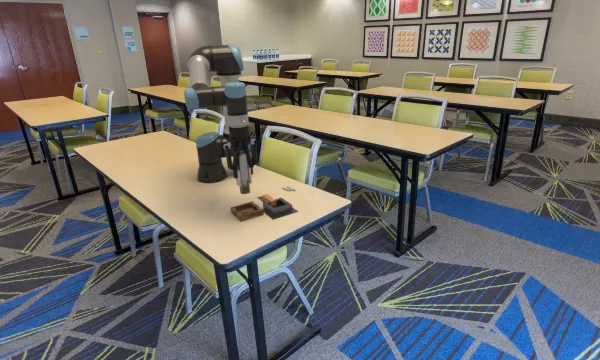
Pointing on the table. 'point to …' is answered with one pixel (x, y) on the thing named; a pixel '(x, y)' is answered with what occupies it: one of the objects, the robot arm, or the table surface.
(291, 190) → the pliers
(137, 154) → the table surface
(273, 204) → the orange rectangular bar
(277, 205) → the socket
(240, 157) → the grey cylindrical peg
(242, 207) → the tray
